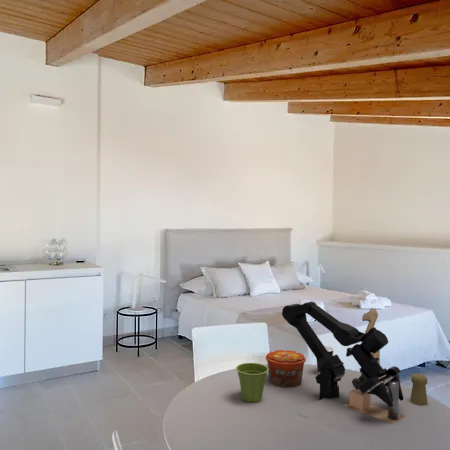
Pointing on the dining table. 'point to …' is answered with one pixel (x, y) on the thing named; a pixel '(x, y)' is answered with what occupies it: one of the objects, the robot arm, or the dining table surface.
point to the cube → (359, 399)
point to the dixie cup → (330, 350)
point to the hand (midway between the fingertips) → (397, 403)
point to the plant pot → (252, 380)
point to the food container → (285, 368)
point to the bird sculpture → (372, 317)
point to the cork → (419, 389)
